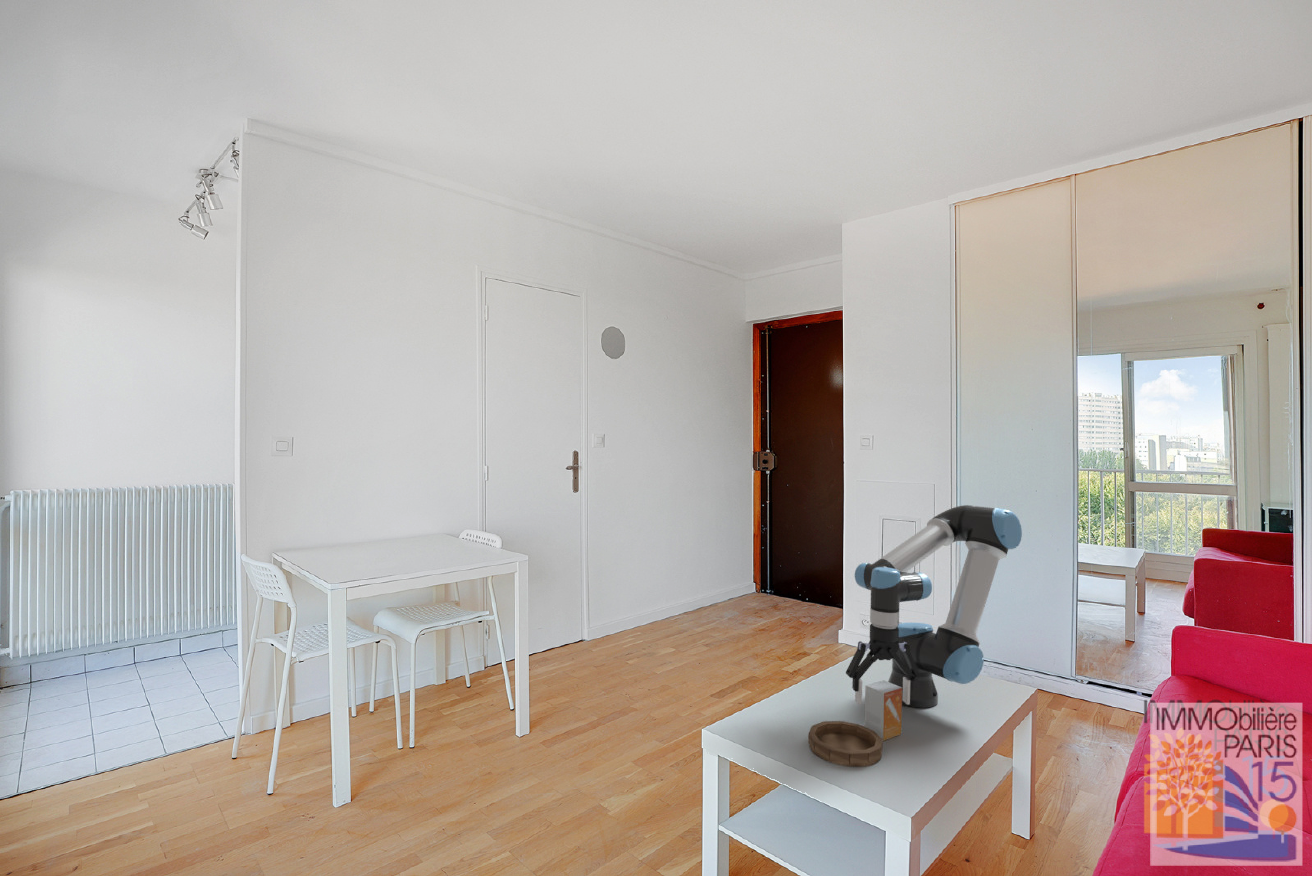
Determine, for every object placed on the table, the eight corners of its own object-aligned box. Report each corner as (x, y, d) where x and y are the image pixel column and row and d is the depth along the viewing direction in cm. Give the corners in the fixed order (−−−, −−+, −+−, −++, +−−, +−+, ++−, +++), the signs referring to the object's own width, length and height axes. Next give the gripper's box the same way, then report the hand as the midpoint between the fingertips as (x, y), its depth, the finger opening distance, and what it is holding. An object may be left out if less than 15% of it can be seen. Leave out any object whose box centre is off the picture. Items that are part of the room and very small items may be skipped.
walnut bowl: (863, 732, 174) (864, 720, 174) (894, 765, 156) (894, 752, 156) (800, 734, 172) (800, 722, 172) (823, 768, 154) (823, 754, 154)
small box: (883, 742, 169) (884, 693, 169) (863, 732, 174) (864, 685, 174) (902, 734, 173) (902, 687, 173) (882, 725, 178) (883, 679, 178)
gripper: (920, 621, 178) (918, 697, 178) (835, 621, 176) (833, 697, 176) (934, 629, 171) (932, 708, 171) (845, 628, 169) (843, 708, 168)
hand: (882, 702), depth 173 cm, fingers open, 13 cm apart
